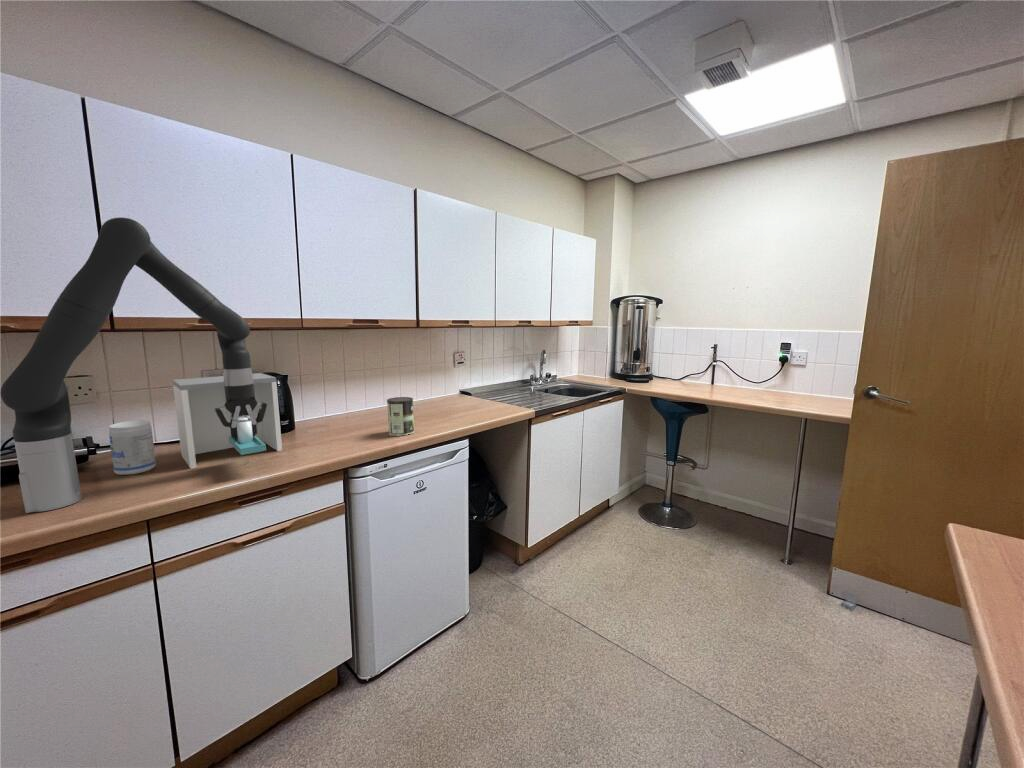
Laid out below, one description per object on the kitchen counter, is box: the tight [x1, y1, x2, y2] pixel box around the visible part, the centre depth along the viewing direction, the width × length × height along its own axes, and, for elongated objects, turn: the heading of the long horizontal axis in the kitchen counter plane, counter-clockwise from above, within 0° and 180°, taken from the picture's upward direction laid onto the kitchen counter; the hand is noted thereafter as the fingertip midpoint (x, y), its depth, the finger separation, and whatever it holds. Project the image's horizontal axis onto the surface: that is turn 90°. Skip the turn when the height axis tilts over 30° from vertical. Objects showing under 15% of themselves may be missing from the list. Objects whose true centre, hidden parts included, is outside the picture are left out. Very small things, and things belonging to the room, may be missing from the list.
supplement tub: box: [108, 420, 156, 476], centre depth 126 cm, size 10×10×15 cm
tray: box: [229, 417, 267, 456], centre depth 127 cm, size 18×6×8 cm, turn 43°
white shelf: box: [172, 372, 283, 469], centre depth 142 cm, size 26×18×26 cm
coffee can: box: [386, 396, 415, 437], centre depth 169 cm, size 10×10×14 cm
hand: (244, 437), depth 129 cm, fingers closed on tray, 4 cm apart
